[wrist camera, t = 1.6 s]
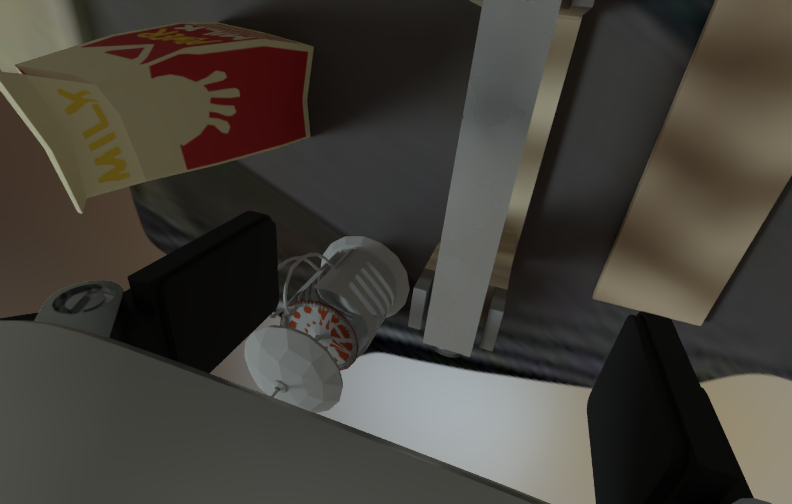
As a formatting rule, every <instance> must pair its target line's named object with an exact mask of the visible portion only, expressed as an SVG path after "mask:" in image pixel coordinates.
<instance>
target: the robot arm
mask: <svg viewBox="0 0 792 504" xmlns="http://www.w3.org/2000/svg"><path fill="white" fill-rule="evenodd" d="M128 281H129V284H130V289H129V290H127V291H125V292H124V291H123V288H122V287H121V286H120V285H119V284H117V283H115V282H112V281H105V280H96V281H87V282H81V283H78V284H74V285H70V286H68V287H65V288H63V289H61V290H59V291H57V292H56V293H54V294H53V295H51V296H50V297H49V298H48V299H47V300H46V301H45V302H44V304H43V306H42V308H41V310H40V312H39V313H33V314H26V315H20V316H13V317H7V318H0V504H550V503H547V502H545V501H542V500H540V499H537V498H535V497H532V496H530V495H527V494H525V493H522V492H520V491H517V490H515V489H512V488H510V487H507V486H505V485H502V484H499V483H497V482H494V481H492V480H489V479H486V478H484V477H481V476H479V475H476V474H473V473H471V472H468V471H465V470H463V469H460V468H458V467H455V466H452V465H450V464H447V463H445V462H442V461H439V460H437V459H434V458H432V457H429V456H426V455H424V454H421V453H418V452H416V451H413V450H411V449H408V448H405V447H403V446H400V445H398V444H395V443H393V442H390V441H387V440H385V439H382V438H379V437H376V436H374V435H372V434H369V433H366V432H363V431H361V430H358V429H356V428H353V427H350V426H348V425H345V424H342V423H340V422H337V421H334V420H331V419H329V418H327V417H324V416H321V415H319V414H316V413H313V412H311V411H308V410H305V409H303V408H300V407H297V406H295V405H292V404H289V403H287V402H284V401H281V400H279V399H276V398H274V397H271V396H268V395H266V394H263V393H260V392H258V391H255V390H252V389H249V388H247V387H244V386H241V385H239V384H236V383H233V382H231V381H228V380H225V379H222V378H220V377H217V376H214V375H212V374H209V373H210V372H211V371H212V370H213V369H214V368H215V367H216V366H218V365H219V364H220V363H221V362H222V361H223V360H224V359H225V358H226V357H227V356H228V355H229V354H230V353H231V352H232V351H233V350H234V349H235V348H236V347H237V346H238V345H239V344H240V343H241V342H242V341H243V340H244V339H246V338H247V337H248V336H249V335H250V334H251V333H252V332H253V331H254V330H255V329H256V328H257V327H258V326H259V325H260V324H261V323H262V322H263V321H264V320H265V319H266V318H267V317H268V316H270V315H271V314H272V313H273V312H274V311H275V309H276V308H277V306H278V303H279V283H278V261H277V238H276V225H275V223H274V222H273V221H272V220H271V217H270V216H269V215H266V214H262V213H258V212H254V211H247V212H245V213H243V214H241V215H239V216H237V217H236V218H234V219H232V220H230V221H228V222H226V223H225V224H223V225H221V226H219V227H217V228H216V229H214V230H212V231H210V232H208V233H206V234H205V235H203V236H201V237H199V238H197V239H195V240H194V241H192V242H190V243H188V244H186V245H185V246H183V247H181V248H179V249H177V250H175V251H174V252H172V253H170V254H168V255H166V256H164V257H163V258H161V259H159V260H157V261H155V262H154V263H152V264H150V265H148V266H146V267H144V268H143V269H141V270H139V271H137V272H135V273H133V274H132V275H130V276H128ZM587 416H588V426H589V437H590V445H591V446H590V447H591V457H592V467H593V477H594V487H595V498H596V504H771V503H769V502H766V501H762V500H758V499H755V498H753V495H752V493H751V491H750V489H749V486H748V484H747V482H746V480H745V477H744V475H743V473H742V471H741V468H740V466H739V464H738V462H737V460H736V457H735V455H734V453H733V451H732V448H731V446H730V444H729V442H728V439H727V437H726V435H725V433H724V431H723V428H722V426H721V424H720V422H719V420H718V417H717V415H716V413H715V410H714V408H713V406H712V404H711V402H710V399H709V397H708V395H707V393H706V392H705V390H704V389H703V388H702V387H701V386H700V384H699V381H698V379H697V377H696V375H695V372H694V370H693V368H692V365H691V363H690V361H689V359H688V356H687V354H686V352H685V350H684V347H683V345H682V343H681V340H680V338H679V336H678V334H677V331H676V329H675V327H674V324H673V322H672V320H671V319H670V318H667V317H663V316H660V315H656V314H652V313H648V312H644V311H641V312H639V313H638V314H637V316H635V315H629V316H628V317H627V319H626V321H625V323H624V325H623V327H622V329H621V331H620V333H619V335H618V337H617V339H616V341H615V344H614V346H613V348H612V350H611V352H610V354H609V356H608V358H607V360H606V362H605V364H604V366H603V368H602V371H601V373H600V375H599V377H598V379H597V381H596V383H595V385H594V387H593V389H592V391H591V393H590V396H589V399H588V404H587Z"/></svg>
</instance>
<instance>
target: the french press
mask: <svg viewBox="0 0 792 504" xmlns="http://www.w3.org/2000/svg"><path fill="white" fill-rule="evenodd" d="M312 256H318V257H320V258H322V263H321V268H318V267H317V266H316V265H315V264H314V263H313V262H311V261H310V260H309V259H307V258H306V257H312ZM293 260H297V261H296V262H295V263H294V264H293V265H292V267H291V268H290V270H289V273H288V276H287V279H286V282H285V286H284V294H283V300H284V308H281V309H279V310H278V311H277V312H275V313H274V314H273V315H272V314H271V315H270V318H275V317H276V316H277V315H278V314H279V313H281V312H282V311H284V312H283V313H282V315H281V324H280V326H276V325H273V326H269V327H266V328H263V329H260V330H257V331H255V332H253V333H252V334H251V336H250V338H249V339H248V340H247V341H246V343H245V360H246V363H247V365H248V368H249V370H250V373H251V375H252V377H253V379H254V380H255V382H256V384H257V385H258V387H259V388H260V389H261V390H263V391H264V392H265V393H267V394H268V395H269V396H271V397H274V398H276V399H279V400H281V401H284V402H287V403H289V404H292V405H295V406H297V407H300V408H303V409H305V410H308V411H311V412H313V413H317V412H322V411H327V410H329V409H331V408H332V407H333V406H334V405H335V404H336V403H337V402H339V400H340V396H341V391H342V388H343V382H342V378H341V374H340V370H344V369H347V368H348V367H350V365H352V364H353V362H355V360H356V358H358V357H359V356H360V355H362V354H363V353H364V352H365V351H366V349H367V348H368V346H369V344H370V343H371V341H372V340H373V338H374V336H375V335H376V331H377V330H378V329H379V328H380V326H381V323H382V322H383V321H384V319H385V318H386V317H389V316H392V315H395V314H396V313H397V312H398V311H399V310H400V309H401V308H402V307H403V306H404V305H405V303H406V300H407V296H408V293H409V290H410V289H409V282H408V276H407V272H406V270H405V268H404V267H403V265H402V263H401V262H400V260H399V258H398V257H397V255H395V254H394V253H393V252H392V251H391V250H389V249H388V248H387V247H386V246H385V245H383V244H382V243H380V242H377V241H375V240H372V239H369V238H367V237H364V236H345V237H343V238H341V239H339V240H337V241H335V242H333V243H331V245H330V246H329V247H328V249H327V250H326V251H325V253H324V254H323V256H322V255H320V254H318V253H309V254H306V255H303V256H298V257H292V258H289V259H287V260H286V261H284V262H283V263H281V264H280V265H279V266H278V270H279V269H280V268H282V267H283V266H284V265H285V264H286V263H288V262H290V261H293ZM302 260H304V261H306V262H308V263H309V264H310V265H311V266H312V267H313V268H314V269H315V270H317V271H318V272H317V273H316V274H315V275H314V276H313V277H312V278H311V279H310V280H309V281H308V282H307V283H306V284H305V285H304V286H303V287H302V288H301V289H300V290H299V291H298V292H297V293H296V294H295V295H294V296H293V297H292V299H291V300H290V301H289V302H288V304H287V289H288V283H289V280H290V277H291V274H292V271H293V269H294V268H295V267H296V266H297V265H298V264H299V263H300V262H301V261H302ZM318 276H319V277H318ZM317 277H318V283H317V284H316V279H317ZM312 282H313V284H312V292H311V297H312V299H313V301H309V300H308V296H309V287H310V285H311V283H312ZM315 284H316V285H315ZM306 288H307V289H306ZM315 288H317V290H318V292H319V294H320V296H321V298H322V299H323V300H325V301H326V302H328V303H330V304H331V305H333V306H334V307H336V308H338V309H339V310H341V311H343V312H345V313H346V314H348V315H350V316H351V317H353V319H352V320H349V319H347V318H346V317H344V316H343V315H342V314H341V313H339V312H338V311H337V310H336V309H334V308H333V307H331V306H329V305H326V304H324V303H321V302H319V300H318V298H317V296H316V294H315ZM305 289H306V291H305V300H302V294H303V292H304V290H305ZM300 291H301V293H300V295H299V297H298V302H295V300H296V298H297V295H298V293H299V292H300ZM383 318H384V319H383ZM382 319H383V320H382ZM378 326H379V328H378V329H377V327H378Z"/></svg>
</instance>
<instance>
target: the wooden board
mask: <svg viewBox="0 0 792 504" xmlns="http://www.w3.org/2000/svg"><path fill="white" fill-rule="evenodd" d="M791 176H792V0H715V1H714V4H713V6H712V9H711V11H710V13H709V16H708V18H707V21H706V23H705V25H704V28H703V30H702V33H701V35H700V37H699V40H698V42H697V45H696V47H695V49H694V52H693V54H692V57H691V59H690V61H689V64H688V66H687V69H686V71H685V73H684V76H683V78H682V81H681V83H680V86H679V88H678V90H677V93H676V95H675V98H674V100H673V102H672V105H671V107H670V110H669V112H668V114H667V117H666V119H665V122H664V124H663V126H662V129H661V131H660V134H659V136H658V138H657V141H656V143H655V146H654V148H653V150H652V153H651V155H650V158H649V160H648V163H647V165H646V167H645V170H644V172H643V175H642V177H641V179H640V182H639V184H638V187H637V189H636V191H635V194H634V196H633V199H632V201H631V203H630V206H629V208H628V211H627V213H626V215H625V218H624V220H623V223H622V225H621V227H620V230H619V232H618V235H617V237H616V240H615V242H614V244H613V247H612V249H611V252H610V254H609V256H608V259H607V261H606V264H605V266H604V268H603V271H602V273H601V276H600V278H599V280H598V283H597V285H596V288H595V290H594V292H593V299H596V300H600V301H604V302H607V303H611V304H615V305H619V306H623V307H627V308H631V309H635V310H639V311H644V312H648V313H652V314H656V315H660V316H663V317H667V318H671V319H674V320H678V321H682V322H686V323H690V324H694V325H698V326H701V325H702V323H703V321H704V320H705V318H706V316H707V315H708V313H709V311H710V310H711V308H712V306H713V305H714V303H715V301H716V300H717V298H718V296H719V295H720V293H721V291H722V290H723V288H724V287H725V285H726V283H727V282H728V280H729V278H730V277H731V275H732V273H733V272H734V270H735V268H736V267H737V265H738V263H739V262H740V260H741V258H742V257H743V255H744V253H745V252H746V250H747V248H748V247H749V245H750V243H751V242H752V240H753V239H754V237H755V235H756V234H757V232H758V230H759V229H760V227H761V225H762V224H763V222H764V220H765V219H766V217H767V215H768V214H769V212H770V210H771V209H772V207H773V205H774V204H775V202H776V200H777V199H778V197H779V195H780V194H781V192H782V191H783V189H784V187H785V186H786V184H787V182H788V181H789V179H790V177H791Z"/></svg>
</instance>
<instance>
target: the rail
mask: <svg viewBox="0 0 792 504" xmlns="http://www.w3.org/2000/svg"><path fill="white" fill-rule="evenodd" d="M561 1H562V0H483V4H482V10H481V16H480V22H479V27H478V33H477V39H476V44H475V50H474V56H473V61H472V67H471V73H470V78H469V84H468V90H467V95H466V101H465V107H464V112H463V118H462V124H461V129H460V135H459V141H458V146H457V152H456V158H455V163H454V169H453V175H452V180H451V186H450V192H449V197H448V203H447V209H446V214H445V220H444V226H443V231H442V237H441V243H440V249H439V254H438V260H437V266H436V271H435V277H434V283H433V288H432V294H431V300H430V305H429V311H428V317H427V322H426V328H425V334H424V339H423V343H426V344H429V345H432V347H433V348H434V350H435V351H436V352H438V353H439V354H441V355H444V356H447V357H459V356H462V355H465V356H469V357H470V355H471V351H472V347H473V343H474V339H475V336H476V332H477V328H478V324H479V320H480V316H481V312H482V308H483V304H484V301H485V297H486V293H487V289H488V285H489V281H490V277H491V273H492V269H493V266H494V262H495V258H496V254H497V250H498V246H499V242H500V238H501V235H502V231H503V227H504V223H505V219H506V215H507V211H508V207H509V203H510V200H511V196H512V192H513V188H514V184H515V180H516V176H517V172H518V168H519V165H520V161H521V157H522V153H523V149H524V145H525V141H526V137H527V133H528V130H529V126H530V122H531V118H532V114H533V110H534V106H535V102H536V99H537V95H538V91H539V87H540V83H541V79H542V75H543V71H544V67H545V64H546V60H547V56H548V52H549V48H550V44H551V40H552V36H553V32H554V29H555V25H556V21H557V17H558V13H559V9H560V5H561Z"/></svg>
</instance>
